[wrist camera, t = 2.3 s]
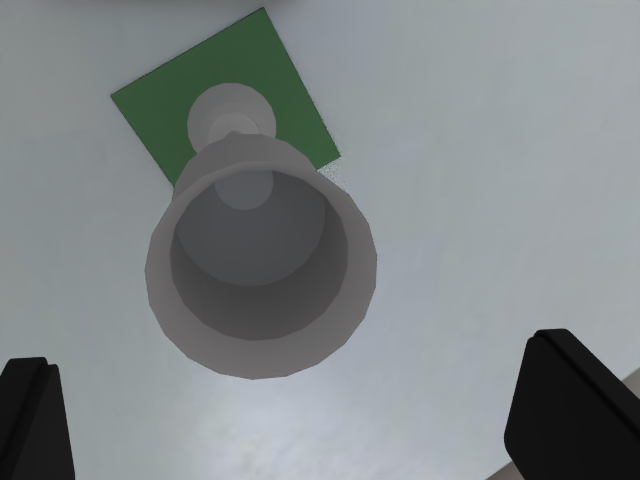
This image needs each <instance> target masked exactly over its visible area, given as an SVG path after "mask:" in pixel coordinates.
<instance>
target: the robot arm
mask: <svg viewBox="0 0 640 480" xmlns="http://www.w3.org/2000/svg"><path fill="white" fill-rule="evenodd" d="M504 443H505V447H506V450H507V452H508V454H509V456H510V457H511V459H512V460H513V462H514V464H515V465H516V467H517V468H518V470H519V471H520V473H521V475H522V476H523V478H524V479H525V480H640V399H638V398H637V397H636V396H635V395H634V394H633V393H632V392H631V391H630V390H629V389H628V388H627V387H626V386H625V385H624V384H623V383H622V382H621V381H620V380H619V379H618V378H617V377H616V376H615V375H614V374H613V373H612V372H611V371H610V370H609V369H608V368H607V367H606V366H605V365H604V364H603V363H602V362H601V361H600V360H599V359H598V358H596V357H595V356H594V355H593V354H592V353H591V352H590V351H589V350H588V349H587V348H586V347H585V346H584V345H583V344H582V343H581V342H580V341H579V340H578V339H577V338H576V337H575V336H574V335H573V334H572V333H571V332H570V331H568V330H567V329H544V330H538V331H537V332H536V333H535V334H534V336H533V337H531V338H529V339H528V341H527V344H526V348H525V352H524V356H523V360H522V364H521V368H520V372H519V376H518V380H517V384H516V388H515V392H514V396H513V400H512V404H511V408H510V413H509V417H508V421H507V425H506V429H505V433H504ZM0 480H75V471H74V464H73V458H72V451H71V445H70V438H69V432H68V425H67V419H66V412H65V406H64V399H63V393H62V387H61V380H60V374H59V368H58V366H57V365H56V364H52V365H48V363H47V360H46V358H45V357H32V358H14V359H10V360H9V361H8V362H7V364H6V366H5V368H4V370H3V372H2V374H1V375H0Z"/></svg>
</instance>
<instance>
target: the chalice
mask: <svg viewBox="0 0 640 480" xmlns="http://www.w3.org/2000/svg"><path fill="white" fill-rule="evenodd" d="M187 127H188V137H189V139H190V142H191V144H192V146H193V149H194V150H195V151H196V152H197V155H195V156H194V157H193V158H192V159H191V160H189V161H188V163H187V165H186V166H185V168H184V170H183V171H182V173H181V175H180V176H179V178H178V180H177V181H176V183H175V187H174V192H173V197H172V202H171V203H170V205H169V207H168V208H167V210H166V212H165V214H164V215H163V217H162V219H161V220H160V222H159V224H158V225H157V227H156V229H155V230H154V232H153V234H152V236H151V241H150V246H149V251H148V256H147V261H146V266H145V277H146V284H147V291H148V298H149V305H150V307H151V309H152V311H153V312H154V314H155V316H156V318H157V320H158V322H159V324H160V326H161V328H162V330H163V332H164V334H165V335H166V336H167V337H168V338H169V339H170V340H171V341H172V342H173V343H174V344H175V345H176V346H177V347H178V348H179V349H180V350H181V351H182V352H183V353H184V354H185V355H186V356H187V357H188V358H189V359H191V360H193V361H195V362H197V363H199V364H201V365H203V366H205V367H207V368H209V369H211V370H213V371H215V372H217V373H219V374H224V375H230V376H235V377H240V378H246V379H251V380H254V379H265V378H275V377H286V376H289V375H291V374H294V373H296V372H299V371H301V370H304V369H307V368H309V367H312V366H314V365H317V364H319V363H320V362H321V361H323V360H324V359H325V358H327V357H328V356H329V355H331V354H332V353H333V352H335V351H336V350H337V349H339V348H340V347H341V346H343V345H344V344H345V343H346V342H347V340H348V339H349V338H350V336H351V335H352V334H353V332H354V331H355V330H356V328H357V327H358V326H359V324H360V323H361V322H362V320H363V319H364V317H365V315H366V312H367V309H368V307H369V304H370V301H371V298H372V296H373V293H374V290H375V288H376V268H377V253H376V249H375V246H374V242H373V238H372V235H371V231H370V227H369V224H368V222H367V221H366V219H365V218H364V216H363V215H362V213H361V212H360V210H359V209H358V207H357V206H356V204H355V203H354V201H353V200H352V198H351V197H350V195H349V194H347V193H346V192H345V191H343V190H342V189H341V188H339V187H338V186H337V185H335V184H334V183H333V182H331V181H330V180H329V179H327V178H326V177H325V176H323V175H322V174H321V173H319V172H317V171H316V169H315V168H314V166H313V165H312V163H311V162H310V161H309V159H308V158H307V157H306V156H305V155H303V154H302V153H301V152H299V151H298V150H297V149H295V148H294V147H293V146H291V145H290V144H289V143H287V142H285V141H282V140H279V139H276V138H275V135H276V119H275V116H274V113H273V110H272V107H271V106H270V105H269V103H268V102H267V100H266V99H265V98H264V96H263V95H261V94H260V93H258V92H257V91H256V90H254V89H253V88H251V87H249V86H245V85H242V84H239V83H222V84H219V85H217V86H214V87H211V88H209V89H207V90H206V91H205V92H204V93H202V94H201V95H200V96H199V97H198V98H197V99H196V101H195V103H194V104H193V106H192V107H191V109H190V113H189V117H188V121H187Z"/></svg>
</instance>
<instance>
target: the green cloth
mask: <svg viewBox="0 0 640 480" xmlns="http://www.w3.org/2000/svg"><path fill="white" fill-rule="evenodd" d="M222 83H239V84H242V85H245V86H249V87H251V88H253V89H254V90H256V91H257V92H258V93H260V94H261V95H263V96H264V98H265V99H266V100H267V102H268V103H269V105H270V106H271V107H272V110H273V113H274V116H275V119H276V135H275V138H276V139H279V140H282V141H285V142H287V143H289V144H290V145H291V146H293V147H294V148H295V149H297V150H298V151H299V152H301V153H302V154H303V155H305V156H306V157H307V158H308V159H309V161H310V162H311V163H312V165H313V166H314V168H315V169H316V170H317V169H319V168H321V167H323V166H325V165H326V164H328V163H330V162H332V161H333V160H335V159H337V158H339V157H341V156H340V154H339V152H338V150H337V148H336V146H335V144H334V142H333V140H332V138H331V136H330V135H329V133H328V131H327V129H326V127H325V125H324V123H323V121H322V119H321V117H320V115H319V113H318V111H317V109H316V108H315V106H314V104H313V102H312V100H311V98H310V96H309V94H308V92H307V90H306V88H305V86H304V84H303V82H302V80H301V79H300V77H299V75H298V73H297V71H296V69H295V67H294V65H293V63H292V61H291V59H290V57H289V55H288V53H287V52H286V50H285V48H284V46H283V44H282V42H281V40H280V38H279V36H278V34H277V32H276V30H275V28H274V26H273V25H272V23H271V21H270V19H269V17H268V15H267V13H266V11H265V9H264V7H262V8H261V9H259V10H257V11H256V12H254V13H252V14H250V15H249V16H247V17H245V18H243V19H242V20H240V21H238V22H236V23H235V24H233V25H231V26H230V27H228V28H226V29H224V30H223V31H221V32H219V33H217V34H216V35H214V36H212V37H211V38H209V39H207V40H205V41H204V42H202V43H200V44H198V45H197V46H195V47H193V48H192V49H190V50H188V51H186V52H185V53H183V54H181V55H179V56H178V57H176V58H174V59H173V60H171V61H169V62H167V63H166V64H164V65H162V66H160V67H159V68H157V69H155V70H154V71H152V72H150V73H148V74H147V75H145V76H143V77H141V78H140V79H138V80H136V81H135V82H133V83H131V84H129V85H128V86H126V87H124V88H122V89H121V90H119V91H117V92H116V93H114V94H112V95H111V96H110V97H111V98H112V99H113V101H114V102H115V104H116V105H117V107H118V108H119V109H120V111H121V112H122V114H123V115H124V117H125V118H126V120H127V121H128V122H129V124H130V125H131V127H132V128H133V130H134V131H135V132H136V134H137V135H138V137H139V138H140V140H141V141H142V142H143V144H144V145H145V147H146V148H147V150H148V151H149V152H150V154H151V155H152V157H153V158H154V160H155V161H156V162H157V164H158V165H159V167H160V168H161V170H162V171H163V172H164V174H165V175H166V177H167V178H168V180H169V181H170V182H171V184H172V185H173V187H175V183H176V181H177V180H178V178H179V176H180V175H181V173H182V171H183V170H184V168H185V166H186V165H187V163H188V161H189V160H191V159H192V158H193V157H194V156H195V155H197V152H196V151H195V150H194V149H193V146H192V144H191V142H190V139H189V137H188V127H187V121H188V117H189V113H190V109H191V107H192V106H193V104H194V103H195V101H196V99H197V98H198V97H199V96H200V95H201V94H202V93H204V92H205V91H206V90H207V89H209V88H211V87H214V86H217V85H219V84H222Z"/></svg>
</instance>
